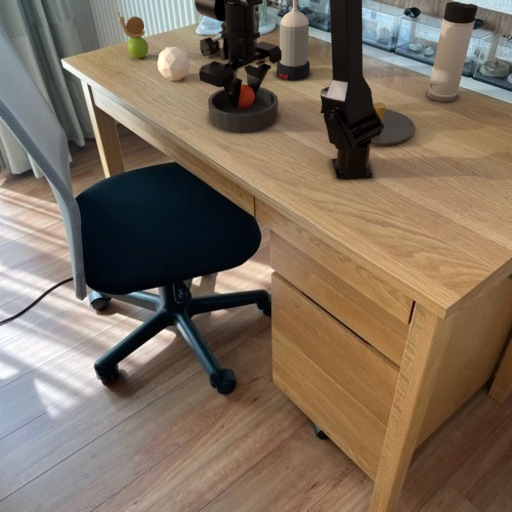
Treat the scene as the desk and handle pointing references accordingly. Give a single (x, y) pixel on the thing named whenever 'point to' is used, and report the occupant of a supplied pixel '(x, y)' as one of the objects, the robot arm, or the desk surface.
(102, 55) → the desk surface
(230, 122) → the black round open container
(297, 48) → the humidifier
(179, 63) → the geometric ball
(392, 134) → the flat gray disc
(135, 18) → the snail figurine
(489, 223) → the desk surface
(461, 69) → the travel mug
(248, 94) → the ball
